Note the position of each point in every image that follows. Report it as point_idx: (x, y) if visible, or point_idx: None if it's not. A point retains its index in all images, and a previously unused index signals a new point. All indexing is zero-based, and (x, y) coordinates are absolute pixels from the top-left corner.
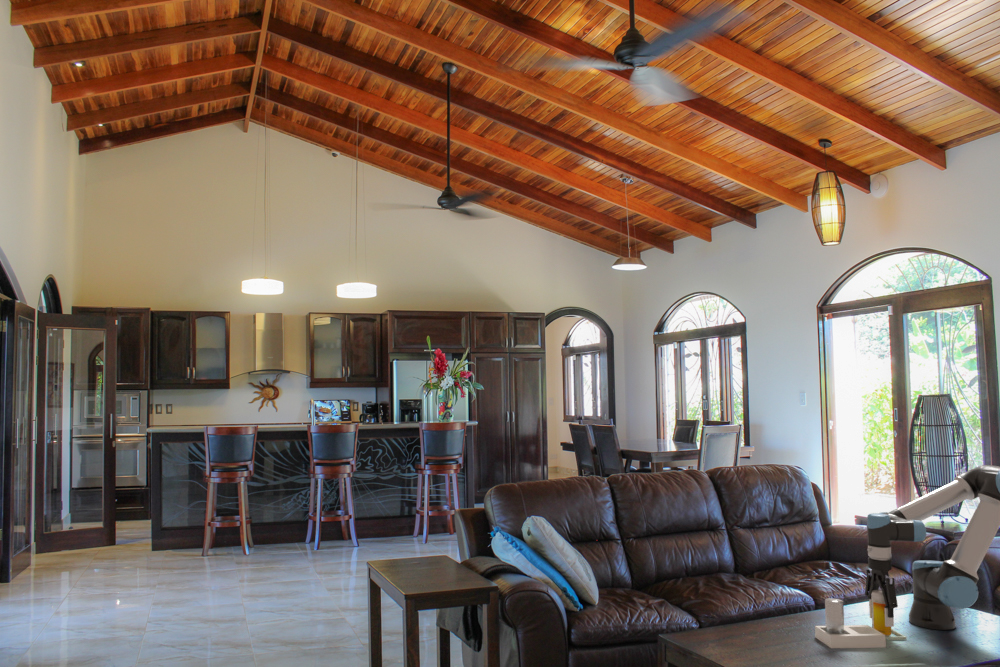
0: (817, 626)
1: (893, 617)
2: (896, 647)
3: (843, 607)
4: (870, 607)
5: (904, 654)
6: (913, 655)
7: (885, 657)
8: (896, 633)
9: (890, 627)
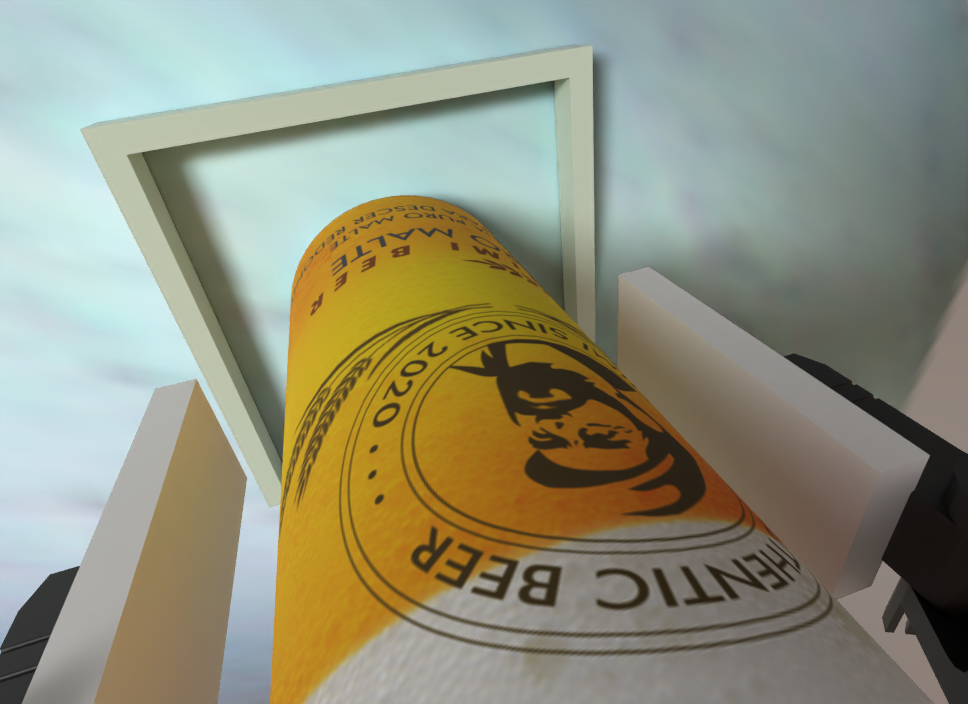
0: None
1: (744, 331)
2: (764, 272)
3: None
4: (222, 639)
5: (904, 265)
6: (947, 199)
7: (893, 407)
8: (391, 106)
9: (513, 257)
